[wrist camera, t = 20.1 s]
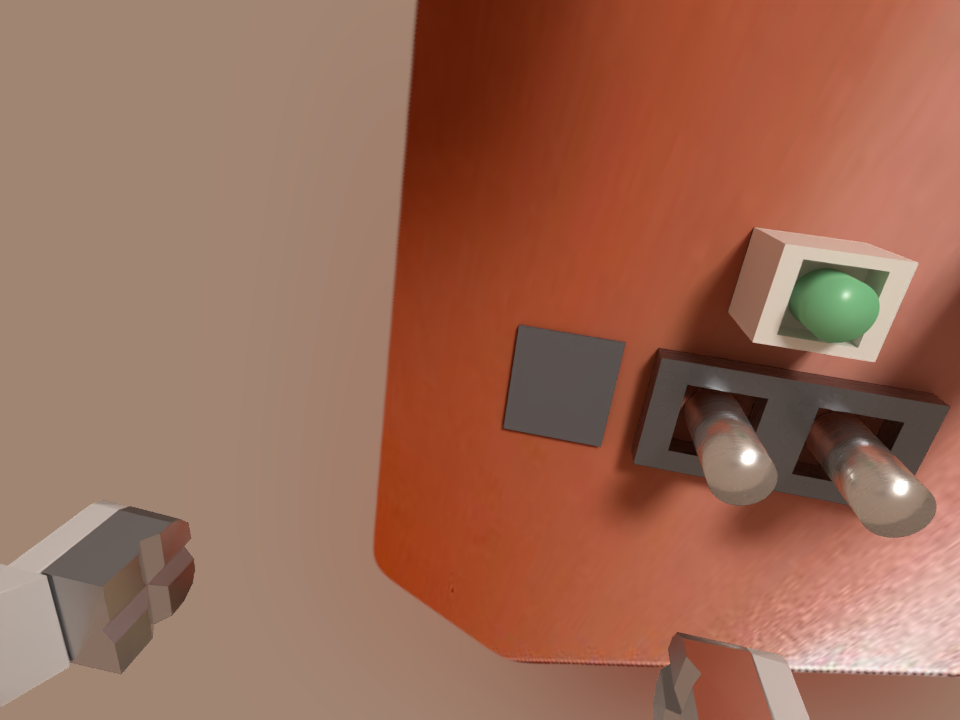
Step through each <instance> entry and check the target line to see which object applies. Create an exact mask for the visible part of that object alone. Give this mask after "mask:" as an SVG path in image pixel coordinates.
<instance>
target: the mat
mask: <svg viewBox="0 0 960 720" xmlns="http://www.w3.org/2000/svg"><path fill="white" fill-rule="evenodd" d="M624 347H625V342H620V341H614V340H608V339H602V338H596V337H590V336H584V335H578V334H572V333H566V332H560V331H554V330H548V329H542V328H536V327H530V326H524V325H519V329H518V336H517V342H516V349H515V355H514V362H513V369H512V375H511V382H510V388H509V395H508V402H507V408H506V415H505V422H504V429H510V430H515V431H520V432H525V433H531V434H536V435H541V436H546V437H552V438H557V439H562V440H567V441H573V442H578V443H583V444H588V445H594V446H599V447H601V444H602V439H603V435H604V431H605V427H606V423H607V418H608V414H609V410H610V406H611V401H612V397H613V393H614V389H615V385H616V380H617V376H618V372H619V368H620V364H621V359H622V355H623V351H624Z"/></svg>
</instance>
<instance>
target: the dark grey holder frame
mask: <svg viewBox="0 0 960 720" xmlns="http://www.w3.org/2000/svg"><path fill="white" fill-rule="evenodd" d="M687 385H692V386H697V387H703V388H709V389H715V390H720V391H726V392H732V393H738V394H743V395H749V396H755V397H756V400H755V403H754V406H753V409H752V411H751V414H750V417H749V422H750V424H751V426H752V427H753V429H754V431H755V433H756V434H757V436H758V438H759V440H760V441H761V443H762V445H763V447H764V448H765V450H766V452H767V454H768V455H769V457H770V459H771V460H772V462H773V464H774V466H775V468H776V470H777V477H778V478H777V483H776V486H775V488H774V490H773V491H778V492H783V493H788V494H794V495H799V496H804V497H809V498H814V499H820V500H825V501H830V502H835V503H840V504H845V505H849V504H848V503H847V501H846V500H845V499H844V497H843V496H842V494H841V493H840V492H839V490H838V489H837V487H836V486H835V485H834V483H833V482H832V480H831V479H830V478H829V476H828V475H827V473H826V472H825V471H824V469H823V468H822V467H821V466H816V465H811V464H805V463H800V462H797V460H798V458H799V455H800V453H801V450H802V448H803V446H804V443H805V441H806V438H807V436H808V433H809V431H810V429H811V426H812V424H813V421H814V419H815V416H816V414H817V411H818V409H819V408H824V409H830V410H835V411H841V412H847V413H853V414H858V415H864V416H870V417H876V418H881V419H885V421H884V423H883V425H882V427H881V429H880V431H879V433H878V436H877V438H878V439H879V440H880V441H881V442H882V443H883V444H884V445H885V446H886V447H887V448H888V449H889V450H890V451H891V452H892V453H893V454H894V455H895V456H896V457H897V458H898V459H899V460H900V461H901V462H902V464H903V465H904V466H905V467H906V468H907V469H908V470H909V471H910V472H911V473H912V474H913V475H914V476H915V474H916V472H917V470H918V468H919V466H920V465H921V463H922V461H923V459H924V457H925V455H926V453H927V451H928V449H929V447H930V445H931V443H932V441H933V439H934V438H935V436H936V434H937V432H938V430H939V428H940V426H941V424H942V422H943V420H944V418H945V416H946V414H947V413H948V411H949V409H950V406H949V405H948V404H946V403H945V402H944V401H942V400H941V399H939V398H938V397H937V396H935V395H934V394H931V393H925V392H919V391H913V390H907V389H901V388H895V387H889V386H883V385H877V384H871V383H865V382H859V381H853V380H847V379H841V378H835V377H829V376H824V375H818V374H812V373H806V372H800V371H794V370H788V369H782V368H776V367H770V366H764V365H758V364H752V363H746V362H740V361H734V360H728V359H722V358H716V357H710V356H704V355H698V354H692V353H686V352H680V351H674V350H668V349H662V348H658V352H657V356H656V360H655V364H654V367H653V371H652V375H651V379H650V383H649V386H648V390H647V394H646V398H645V401H644V405H643V409H642V413H641V417H640V420H639V424H638V428H637V432H636V435H635V439H634V443H633V447H632V456H633V463H634V464H638V465H643V466H648V467H653V468H659V469H664V470H669V471H674V472H679V473H684V474H690V475H695V476H700V477H705V475H704V472H703V469H702V466H701V463H700V461H699V458H698V455H697V452H696V449H695V446H694V444H693V443H692V442H687V441H681V440H676V439H672V435H673V432H674V429H675V425H676V422H677V418H678V415H679V412H680V408H681V405H682V401H683V398H684V395H685V391H686V388H687Z"/></svg>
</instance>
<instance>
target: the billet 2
mask: <svg viewBox="0 0 960 720" xmlns="http://www.w3.org/2000/svg"><path fill="white" fill-rule="evenodd" d="M805 442H806V445H807V447H808V448H809V450H810V451H811V453H812V454H813V455H814V457H815V458H816V459H817V461H818V462H819V464H820V465H821V466H822V468H823V469H824V471H825V472H826V473H827V475H828V476H829V478H830V479H831V480H832V482H833V483H834V485H835V486H836V487H837V489H838V490H839V492H840V493H841V494H842V496H843V497H844V499H845V500H846V501H847V503H848V504H849V505H850V507H851V508H852V510H853V511H854V512H855V514H856V515H857V517H858V518H859V519H860V521H861V522H862V524H863V525H864V526H865V527H866V528H867V529H868V530H869V531H871V532H872V533H874V534H876V535H879V536H883V537H892V538H895V537H904V536H908V535H911V534H914V533H916V532H918V531H920V530H922V529H923V528H924V527H926V526H927V525H928V524H929V523H930V522H931V520H932V519H933V517H934V515H935V512H936V501H935V498H934V496H933V495H932V494H931V492H930V491H929V490H928V489H927V488H926V487H925V486H924V485H923V484H922V483H921V482H920V481H919V480H918V479H917V478H916V477H915V476H914V475H913V474H912V473H911V472H910V471H909V470H908V469H907V468H906V467H905V466H904V465H903V464H902V462H901V461H900V460H899V459H898V458H897V457H896V456H895V455H894V454H893V453H892V452H891V451H890V450H889V449H888V448H887V447H886V446H885V445H884V444H883V443H882V442H881V441H880V440H879V439H878V438H877V437H876V436H875V435H874V434H873V433H872V432H871V431H870V430H869V428H868V427H867V426H866V425H865V424H864V423H863V422H862V421H861V420H860V419H859V418H858V417H856V416H855V415H853V414H851V413H847V412H841V411H833V412H828V413H825V414H823V415H821V416H819V417H817V418H816V419H814V421H813V424H812V426H811V429H810V431H809V433H808V436H807V438H806V441H805Z"/></svg>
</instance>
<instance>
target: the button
mask: <svg viewBox="0 0 960 720" xmlns="http://www.w3.org/2000/svg"><path fill="white" fill-rule="evenodd" d="M788 304H789V309H790V312H791V313H792V315H793V316H794V317H795V318H796V319H797V320H798V321H799V322H800V323H801V324H802V325H804V326H805V327H806V328H807V329H808V330H809V331H811V332H812V333H813V334H814V335H815V336H816V337H818V338H819V339H821V340H824V341H827V342H832V343H842V342H847V341H851V340H854V339H856V338H858V337H860V336H861V335H863V334H864V333H866V332H867V331H868V330H869V329H870V328H871V327H872V326H873V324H874V323H875V321H876V319H877V317H878V314H879V309H880V303H879V299H878V296H877V294H876V293H875V291H874V290H873V289H872V288H871V287H870V286H868V285H867V284H865V283H863V282H861V281H859V280H857V279H855V278H853V277H851V276H850V275H848V274H846V273H844V272H842V271H840V270H837V269H833V268H821V269H816V270H813V271H811V272H809V273H807V274H805V275H804V276H802V277H801V278H800V279H799V280H798V281H797V282H796V283H795V285H794V288H793V290H792V293H791V296H790V299H789V302H788Z"/></svg>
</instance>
